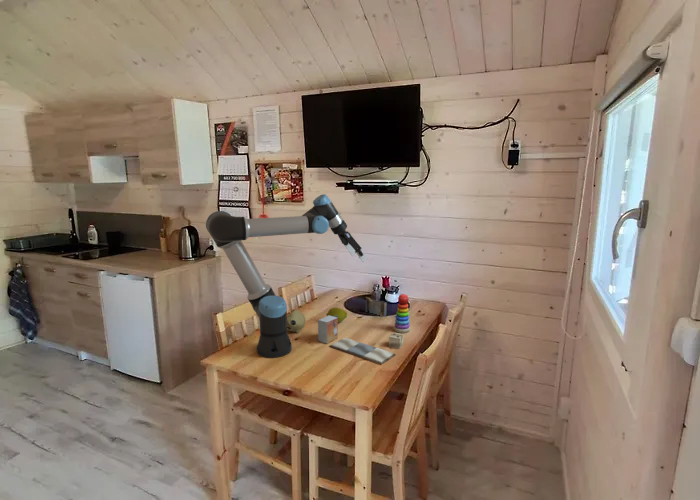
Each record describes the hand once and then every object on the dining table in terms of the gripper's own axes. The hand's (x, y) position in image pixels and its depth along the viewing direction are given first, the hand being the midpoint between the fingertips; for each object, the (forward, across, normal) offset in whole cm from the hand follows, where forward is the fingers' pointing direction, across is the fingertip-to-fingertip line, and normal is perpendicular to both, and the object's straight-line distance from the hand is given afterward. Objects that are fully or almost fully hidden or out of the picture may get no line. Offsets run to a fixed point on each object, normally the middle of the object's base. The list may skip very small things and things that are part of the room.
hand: (359, 257), depth 206 cm
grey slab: (+38, +10, +8) cm, 40 cm away
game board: (+22, -30, +29) cm, 47 cm away
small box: (+17, -13, +37) cm, 43 cm away
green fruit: (+24, +6, +28) cm, 37 cm away
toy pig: (+10, +2, +48) cm, 49 cm away
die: (+32, -30, +15) cm, 47 cm away
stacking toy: (+38, -16, +6) cm, 42 cm away
